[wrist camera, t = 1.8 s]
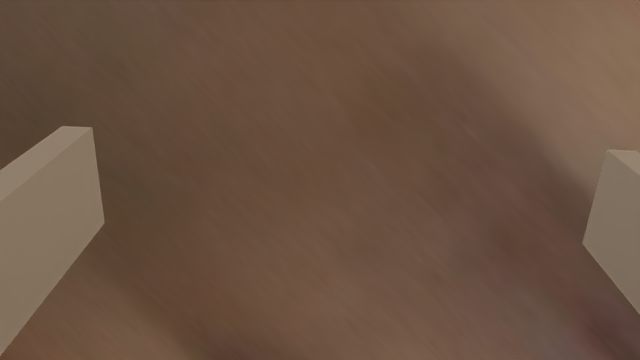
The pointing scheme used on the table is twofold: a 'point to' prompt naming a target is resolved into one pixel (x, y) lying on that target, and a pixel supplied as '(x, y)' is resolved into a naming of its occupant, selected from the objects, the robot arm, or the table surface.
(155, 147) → the table surface
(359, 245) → the table surface
